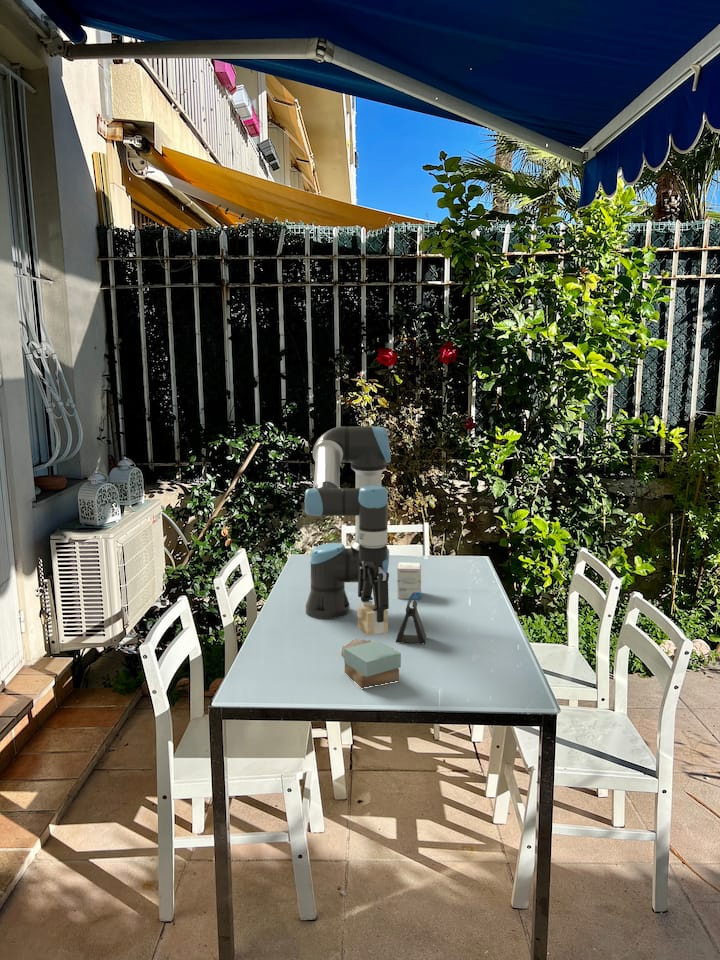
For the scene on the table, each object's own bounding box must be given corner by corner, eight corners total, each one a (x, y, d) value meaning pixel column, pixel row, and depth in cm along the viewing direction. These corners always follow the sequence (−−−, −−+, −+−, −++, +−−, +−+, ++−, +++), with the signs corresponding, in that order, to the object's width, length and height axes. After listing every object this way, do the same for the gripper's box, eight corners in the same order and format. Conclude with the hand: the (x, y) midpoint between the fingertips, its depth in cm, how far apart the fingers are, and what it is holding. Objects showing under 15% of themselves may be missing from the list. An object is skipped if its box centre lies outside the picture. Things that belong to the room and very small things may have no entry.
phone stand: (395, 642, 218) (395, 604, 216) (397, 635, 224) (398, 598, 222) (424, 644, 217) (425, 606, 215) (426, 637, 222) (427, 600, 221)
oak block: (357, 628, 193) (357, 606, 192) (377, 625, 195) (377, 604, 194) (367, 635, 187) (367, 613, 186) (387, 632, 190) (388, 610, 189)
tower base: (344, 674, 196) (344, 661, 195) (380, 667, 201) (380, 654, 200) (361, 691, 186) (361, 676, 185) (398, 683, 191) (399, 669, 190)
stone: (333, 649, 214) (333, 640, 213) (369, 643, 218) (369, 635, 218) (348, 663, 203) (348, 654, 203) (385, 657, 208) (385, 648, 207)
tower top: (344, 662, 194) (344, 648, 194) (377, 653, 200) (377, 640, 200) (366, 676, 185) (366, 662, 185) (400, 667, 191) (400, 653, 191)
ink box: (421, 592, 267) (421, 562, 265) (420, 599, 259) (421, 568, 257) (398, 591, 268) (398, 561, 266) (396, 598, 259) (397, 567, 258)
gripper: (345, 538, 195) (345, 619, 198) (376, 554, 178) (376, 643, 181) (369, 536, 198) (369, 616, 201) (403, 551, 181) (402, 638, 184)
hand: (372, 628), depth 191 cm, fingers closed on oak block, 6 cm apart
